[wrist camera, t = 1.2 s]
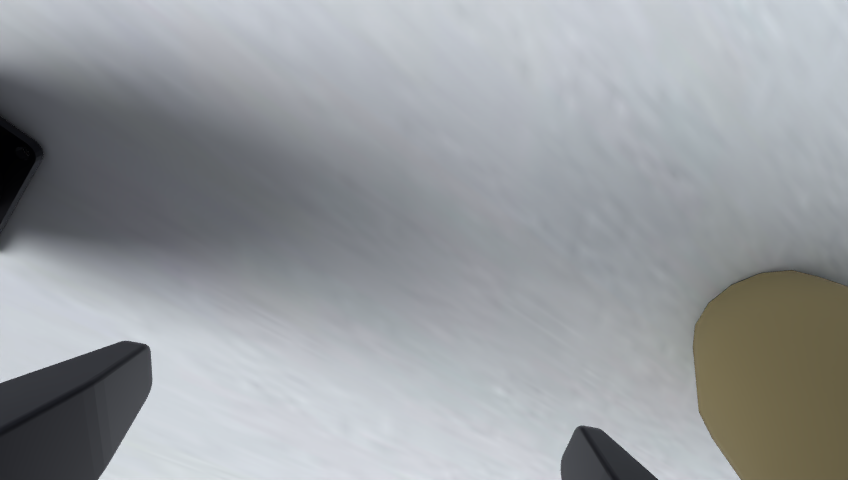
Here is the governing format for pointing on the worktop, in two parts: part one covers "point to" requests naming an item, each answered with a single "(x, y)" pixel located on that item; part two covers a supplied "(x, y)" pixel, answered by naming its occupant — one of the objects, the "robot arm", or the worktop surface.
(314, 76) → the worktop surface
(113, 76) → the worktop surface
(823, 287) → the squeeze bottle
